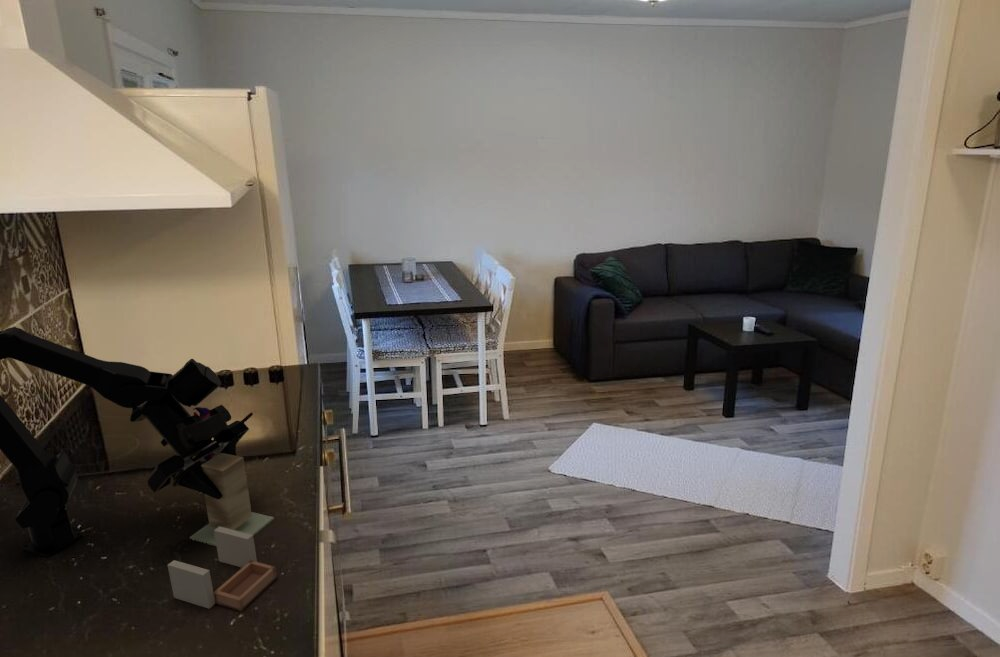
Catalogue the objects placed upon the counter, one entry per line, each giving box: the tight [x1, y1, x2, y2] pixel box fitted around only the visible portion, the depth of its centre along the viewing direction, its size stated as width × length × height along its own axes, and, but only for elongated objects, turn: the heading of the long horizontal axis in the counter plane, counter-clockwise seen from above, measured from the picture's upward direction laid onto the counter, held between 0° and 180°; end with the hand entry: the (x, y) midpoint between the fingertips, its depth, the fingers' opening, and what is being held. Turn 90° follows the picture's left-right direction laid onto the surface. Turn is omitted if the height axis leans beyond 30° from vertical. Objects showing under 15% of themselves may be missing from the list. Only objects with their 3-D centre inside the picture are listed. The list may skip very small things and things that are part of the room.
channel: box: [167, 526, 258, 609], centre depth 99 cm, size 7×10×6 cm
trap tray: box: [213, 560, 278, 612], centre depth 97 cm, size 5×8×2 cm, turn 159°
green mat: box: [189, 511, 275, 547], centre depth 113 cm, size 10×10×1 cm
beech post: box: [201, 453, 252, 530], centre depth 111 cm, size 5×5×12 cm
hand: (232, 490), depth 110 cm, fingers closed on beech post, 5 cm apart
